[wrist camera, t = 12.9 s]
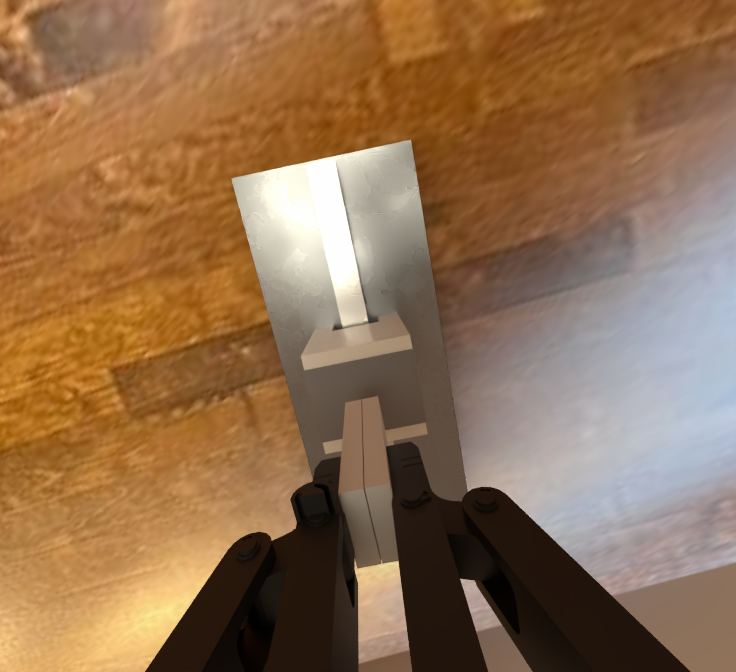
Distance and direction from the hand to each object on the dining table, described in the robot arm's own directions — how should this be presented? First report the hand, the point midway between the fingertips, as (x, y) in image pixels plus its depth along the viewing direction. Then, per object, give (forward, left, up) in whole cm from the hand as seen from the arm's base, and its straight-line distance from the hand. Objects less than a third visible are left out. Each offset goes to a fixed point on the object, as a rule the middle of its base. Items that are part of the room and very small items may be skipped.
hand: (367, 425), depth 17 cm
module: (0, 0, -10) cm, 10 cm away
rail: (0, 0, -11) cm, 11 cm away
